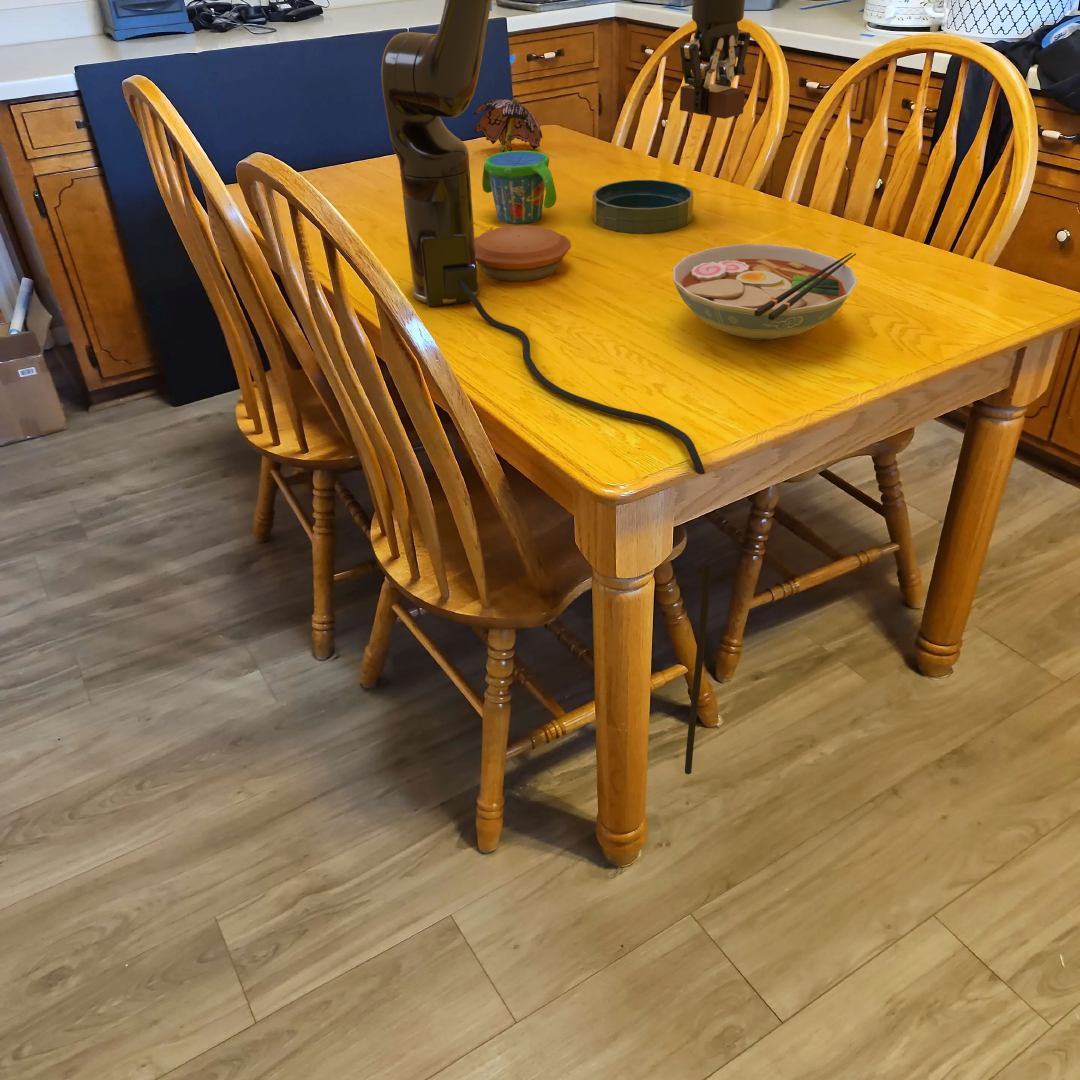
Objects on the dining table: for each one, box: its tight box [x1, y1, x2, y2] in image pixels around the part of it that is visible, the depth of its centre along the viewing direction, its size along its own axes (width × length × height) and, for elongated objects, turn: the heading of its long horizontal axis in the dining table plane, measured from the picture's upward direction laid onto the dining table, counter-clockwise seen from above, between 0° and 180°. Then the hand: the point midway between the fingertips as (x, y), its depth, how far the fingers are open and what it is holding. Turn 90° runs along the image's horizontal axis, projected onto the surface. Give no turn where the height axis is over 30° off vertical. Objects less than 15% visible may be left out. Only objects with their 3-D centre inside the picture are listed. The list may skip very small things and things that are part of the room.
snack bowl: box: [591, 179, 694, 234], centre depth 159 cm, size 17×17×4 cm
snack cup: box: [481, 150, 557, 225], centre depth 159 cm, size 16×10×10 cm
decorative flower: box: [473, 98, 544, 153], centre depth 196 cm, size 15×12×15 cm
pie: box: [474, 225, 572, 283], centre depth 142 cm, size 15×16×5 cm
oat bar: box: [679, 83, 746, 120], centre depth 146 cm, size 9×4×4 cm, turn 42°
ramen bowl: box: [672, 243, 858, 341], centre depth 121 cm, size 25×23×8 cm
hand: (711, 110), depth 147 cm, fingers closed on oat bar, 4 cm apart
